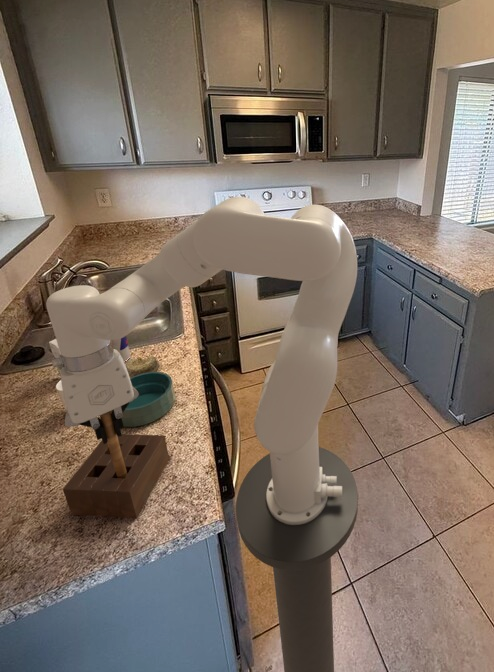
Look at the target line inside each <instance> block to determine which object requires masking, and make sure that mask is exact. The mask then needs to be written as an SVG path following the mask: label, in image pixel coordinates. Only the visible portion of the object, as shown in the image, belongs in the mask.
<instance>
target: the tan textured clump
mask: <svg viewBox="0 0 494 672" xmlns="http://www.w3.org/2000/svg"><path fill="white" fill-rule="evenodd" d="M125 366H126V368H127V371H128V374H129V377H130V378H131V377H134V376H136V375H139V374H142V373H148V372H158V370H159V367H160V363H159V361H157V357H156V356H154V355H152V354H151V355H149V356H148V357H146V359H145V358H142V357H141V356H138V357H137V358H131V359H130V361H128V362H127V363H125Z"/></svg>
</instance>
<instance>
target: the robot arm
mask: <svg viewBox="0 0 494 672" xmlns="http://www.w3.org/2000/svg"><path fill="white" fill-rule="evenodd" d="M221 271H226V272H231V273H236V274H244V275H250V276H259V277H267V278H275V279H283V280H289V281H296V282H297V281H298V282H301V285H300V288H299V292H298V295H297V298H296V301H295V303H294V306H293V309H292V312H291V314H290V316H289V318H288V321H287V323H286V325H285V326H284V329H283V330H282V334H281V336H280V339H279V342H278V343H279V344H278V347H277V352H276V355H275V359H274V361H273V362H272V363H271V365H270V367H269V368H268V370H267V372H266V374H265V377H264V380H263V385H262V387H261V391H260V397H259V401H258V404H257V408H256V411H255V416H254V420H253V421H254V422H253V427H254V432H255V436H256V438H257V440H258V443H260V445H261V446H262V447H263V448H264V449H266V450H267V451H268V452H269V453H270V459H271V469H272V479H271V481H270V483H269V485H268V488H267V493H266V499H267V505H268V508H269V511H270V512H271V514H272V515H273V516H274V517H275V518H276V519H277V520H279V521H280V522H282V523H285V524H289V525H300V524H304V523H307V522H309V521H311V520H313V519H314V518H316V517H317V516H318V515H319V514H320V513H321V512H322V510H323V509H324V507H325V505H326V502H327V498H328V496H330V497H340V498H342V486H327V483H330V484H336V483H337V476H325V474H323V473H322V467H319V447H320V445H319V422H320V421H321V418H322V416H323V414H324V411H325V409H326V407H327V405H328V403H329V400H330V397H331V395H332V393H333V391H334V388H335V384H336V380H337V375H338V338H339V334H340V331H341V327H342V325H343V322H344V319H345V317H346V315H347V311H348V309H349V306H350V304H351V301H352V298H353V295H354V291H355V288H356V283H357V278H358V255H357V249H356V244H355V241H354V238H353V235H352V233H351V232H350V230H349V228H348V226H347V225H346V223H345V222H344V221H343V220H342V219H341V217H340V216H339V215H338V214H337V213H336V212H334V211H333V210H332V209H330V208H329V207H327V206H325V205H322V204H316V203H315V204H309V205H304V206H303V207H300V208H299V209H298V210H297V211H296V212H295V213H294V214H292V216H291V217H282V216H274V215H267V214H265V212H264V210H263V209H262V207H261V206H260V205H259V204H258V203H257V202H256V201H254V200H253V199H250V198H248V197H246V196H232V197H229V198H226V199H224V200H222V201H221V202H220V203H219V202H218V204H216V205H214V206H213V207H211V208H210V209H208V210H207V211H205V212H204V213H203V214H201V216H200V217H199V218H198V219H196V220H195V221H194V222H193V223H191V224H190V225H188V227H186V228H185V229H183V230H182V231H181V232H179V233H178V234H177V235H175V236H174V237H173V238H171V239H170V240H168V241H167V242H165V243H164V244H163V245H162V246H161V247H160V251H159V253H158V254H157V255H156V256H153V258H152V259H150V260H149V261H148V262H146V263H145V264H143V265H142V266H141V267H139V268H138V269H136V270H135V271H134V272H132V273H131V274H129V275H128V276H126V277H125V278H124V279H122V280H120V282H118V283H116V284H114V285H113V286H111V287H110V288H109V289H107V290H106V291H104V292H102V293H100V291H99V290H98V289H97V288H96V287H94V286H92V285H87V284H85V285H84V284H83V285H82V284H81V285H73V286H68V287H64V288H62V289H59V290H57V291H55V292H53V293H51V294H50V295H49V297H47V300H46V303H45V306H46V311H47V314H48V317H49V320H50V323H51V326H52V329H53V334H54V337H55V339H56V340H57V343H58V347H59V350H60V353H61V355H59V357H58V358H57V359H54V358H53V359H52V360H51V364H52V368H53V369H55V368H57V367H58V366H59V367H60V366H62V369H61V377H60V380H61V383H62V389H63V394H64V399H65V403H66V407H67V412H66V411H65V412H66V413H65V416H64V426H65V427H66V428H70V427H71V428H73V427H78V426H83V427H88V428H91V429H92V430H94V433H95V435H96V436H95V437H96V439H97V441H99V440H101V441H103V443H104V444H106V443H107V442H108V440H107V437H106V433H105V430H104V426H103V424H102V422H101V419H100V415H102V414H104V413H107V412H109V411H111V415H112V419H113V423H114V427H115V430H116V434H117V436H119V437H120V436H122V434H123V433H122V429H124V428H125V426H123V422H122V418H121V417H122V416H123V412H124V410H125V409H126V407H127V406H128V404H129V403H130V402H132V401H133V400H134V399H135V398H137V397H138V396H139V393H138V391H137V390H136V389H135V388H134V387H133V386H132V384H131V381H130V377H129V374H128V371H127V368H126V363H124V361H123V359H122V357H121V355H120V353H119V352H118V351H117V350H115V349H113V345H112V341H111V340H117V339H120V338H123V337H125V336H126V337H127V336H128V335H129V334H130V333H132V331H134V329H136V327H138V325H139V324H140V323H141V322H142V321H143V320H144V319H146V317H147V316H148V315H150V313H152V311H154V310H155V309H156V308H157V307H158V306H159V305H161V304H162V303H163V302H164V301H166V300H168V299H169V298H170V297H172V296H173V295H175V294H176V293H177V292H179V291H180V290H182V289H183V288H185V287H187V288H197V287H199V286H201V285H202V284H204V283H206V282H207V281H208V280H210V279H211V278H213V277H214V276H215V275H217V274H219V273H220V272H221ZM76 413H77V414H76Z"/></svg>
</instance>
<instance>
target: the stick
mask: <svg viewBox="0 0 494 672" xmlns="http://www.w3.org/2000/svg"><path fill="white" fill-rule="evenodd" d="M111 412H112V410H111V411H109V412H107V413H104V414H102V415H100V416H99V419H101V422H102V424H103V426H104V430H105V433H106V437H107V440H108V442H107V443H108V447H109V450H110V454H111V458H112V461H113V465H114V468H115V472H116V475H117V478H125V477H126V475H127V471H126V467H125V463H124V459H123V456H122V452H121V448H120V445H119V441H118V437H117V434H116V430H115V427H114V423H113V419H112V415H111Z"/></svg>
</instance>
